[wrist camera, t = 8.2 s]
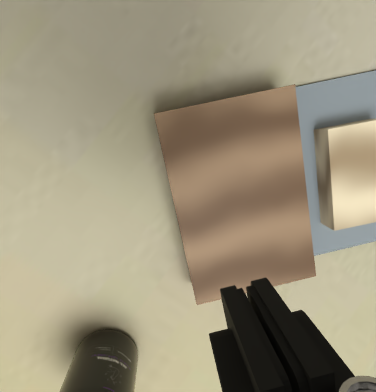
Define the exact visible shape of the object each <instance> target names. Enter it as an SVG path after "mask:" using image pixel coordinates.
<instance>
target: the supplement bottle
mask: <svg viewBox="0 0 376 392" xmlns="http://www.w3.org/2000/svg"><path fill="white" fill-rule="evenodd" d="M137 362H138V352H137V348H136V346H135V344H134V342H133V341H132V340H131V339H130V338H129V337H128V336H127V335H125V334H124V333H122V332H119V331H116V330H100V331H96V332H94V333H92V334H90V335H88V336H87V337H86V338H85V339H84V340H83V341H82V342H81V343H80V345H79V346H78V348H77V351H76V353H75V355H74V358H73V360H72V362H71V365H70V367H69V370H68V372H67V375H66V377H65V380H64V382H63V384H62V387H61V389H60V392H134V389H135V380H136V372H137Z"/></svg>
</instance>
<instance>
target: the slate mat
mask: <svg viewBox="0 0 376 392" xmlns="http://www.w3.org/2000/svg"><path fill="white" fill-rule="evenodd" d="M295 88H296V97H297V106H298V116H299V125H300V134H301V143H302V152H303V161H304V170H305V180H306V189H307V198H308V207H309V216H310V225H311V234H312V244H313V253H314V256H315V255H320V254H324V253H328V252H332V251H336V250H340V249H345V248H349V247H353V246H357V245H361V244H366V243H370V242H374V241H376V222H374V223H369V224H364V225H360V226H355V227H350V228H345V229H341V230H336V231H334V230H332V229H330V228H329V227H327V226H325V225H323V224H321V221H320V208H319V195H318V182H317V169H316V156H315V142H314V130H315V129H320V128H325V127H330V126H336V125H341V124H346V123H351V122H356V121H362V120H367V119H376V70H375V71H370V72H365V73H361V74H356V75H351V76H346V77H341V78H336V79H332V80H327V81H322V82H317V83H312V84H308V85H303V86H298V87H295Z"/></svg>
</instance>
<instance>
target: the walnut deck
mask: <svg viewBox="0 0 376 392" xmlns="http://www.w3.org/2000/svg"><path fill="white" fill-rule="evenodd" d="M154 116H155V121H156V125H157V130H158V134H159V139H160V143H161V148H162V152H163V157H164V161H165V165H166V170H167V174H168V179H169V183H170V188H171V192H172V197H173V201H174V206H175V210H176V214H177V219H178V223H179V228H180V232H181V237H182V241H183V246H184V250H185V255H186V259H187V264H188V268H189V272H190V277H191V281H192V286H193V290H194V295H195V299H196V304H197V305H199V304H203V303H207V302H211V301H215V300H219V299H222V298H221V293H220V289H221V288H225V287H229V286H233V285H235V286H236V288H237V289H239V288H242V289H243V290H244V292H245V293H247V291H246V287H247V286H251V281H253V280H257V279H261V278H265V277H266V278H267V279H268V280H269V282H270V283H271V284H272V286H277V285H281V284H285V283H289V282H293V281H297V280H302V279H306V278H310V277H314V276H316V271H315V262H314V253H313V244H312V234H311V225H310V216H309V207H308V198H307V189H306V180H305V170H304V161H303V152H302V143H301V134H300V125H299V116H298V106H297V97H296V88H295V84H294V85H290V86H285V87H280V88H275V89H270V90H265V91H261V92H256V93H251V94H246V95H241V96H236V97H232V98H227V99H222V100H217V101H212V102H208V103H203V104H198V105H193V106H188V107H183V108H179V109H174V110H169V111H164V112H159V113H154Z"/></svg>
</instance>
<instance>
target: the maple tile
mask: <svg viewBox="0 0 376 392" xmlns="http://www.w3.org/2000/svg"><path fill="white" fill-rule="evenodd" d="M314 142H315V156H316V169H317V182H318V195H319V208H320V221H321V224H323V225H325V226H327V227H329V228H330V229H332V230H334V231H336V230H341V229H345V228H350V227H355V226H360V225H364V224H369V223H374V222H376V119H367V120H362V121H356V122H351V123H346V124H341V125H336V126H330V127H325V128H320V129H315V130H314Z"/></svg>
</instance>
